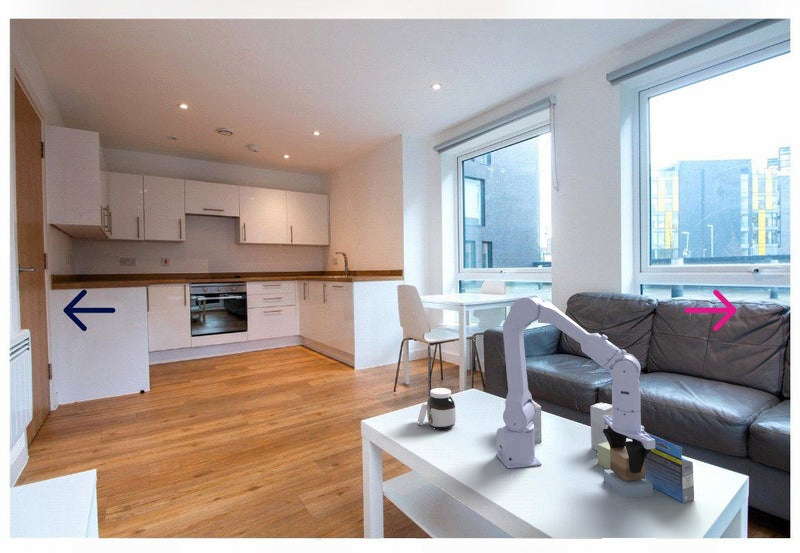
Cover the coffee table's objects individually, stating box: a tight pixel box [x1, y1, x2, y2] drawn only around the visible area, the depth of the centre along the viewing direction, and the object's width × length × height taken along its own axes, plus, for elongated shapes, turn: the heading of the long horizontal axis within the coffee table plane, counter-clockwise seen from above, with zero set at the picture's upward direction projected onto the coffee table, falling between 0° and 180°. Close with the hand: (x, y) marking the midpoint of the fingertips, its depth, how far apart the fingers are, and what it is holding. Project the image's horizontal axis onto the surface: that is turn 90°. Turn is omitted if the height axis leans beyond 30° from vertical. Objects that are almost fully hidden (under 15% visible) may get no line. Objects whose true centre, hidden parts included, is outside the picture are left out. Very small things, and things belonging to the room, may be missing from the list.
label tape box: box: [645, 432, 695, 504], centre depth 88 cm, size 9×4×12 cm, turn 21°
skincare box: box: [590, 402, 612, 452], centre depth 109 cm, size 6×4×12 cm
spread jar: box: [417, 387, 457, 431], centre depth 128 cm, size 12×11×12 cm
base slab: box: [603, 468, 654, 499], centre depth 89 cm, size 7×7×3 cm
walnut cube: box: [610, 447, 646, 481], centre depth 89 cm, size 5×5×5 cm
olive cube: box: [597, 442, 610, 470], centre depth 100 cm, size 5×5×5 cm
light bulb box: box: [532, 399, 543, 444], centre depth 119 cm, size 11×7×11 cm, turn 5°
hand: (626, 466), depth 89 cm, fingers closed on walnut cube, 5 cm apart
